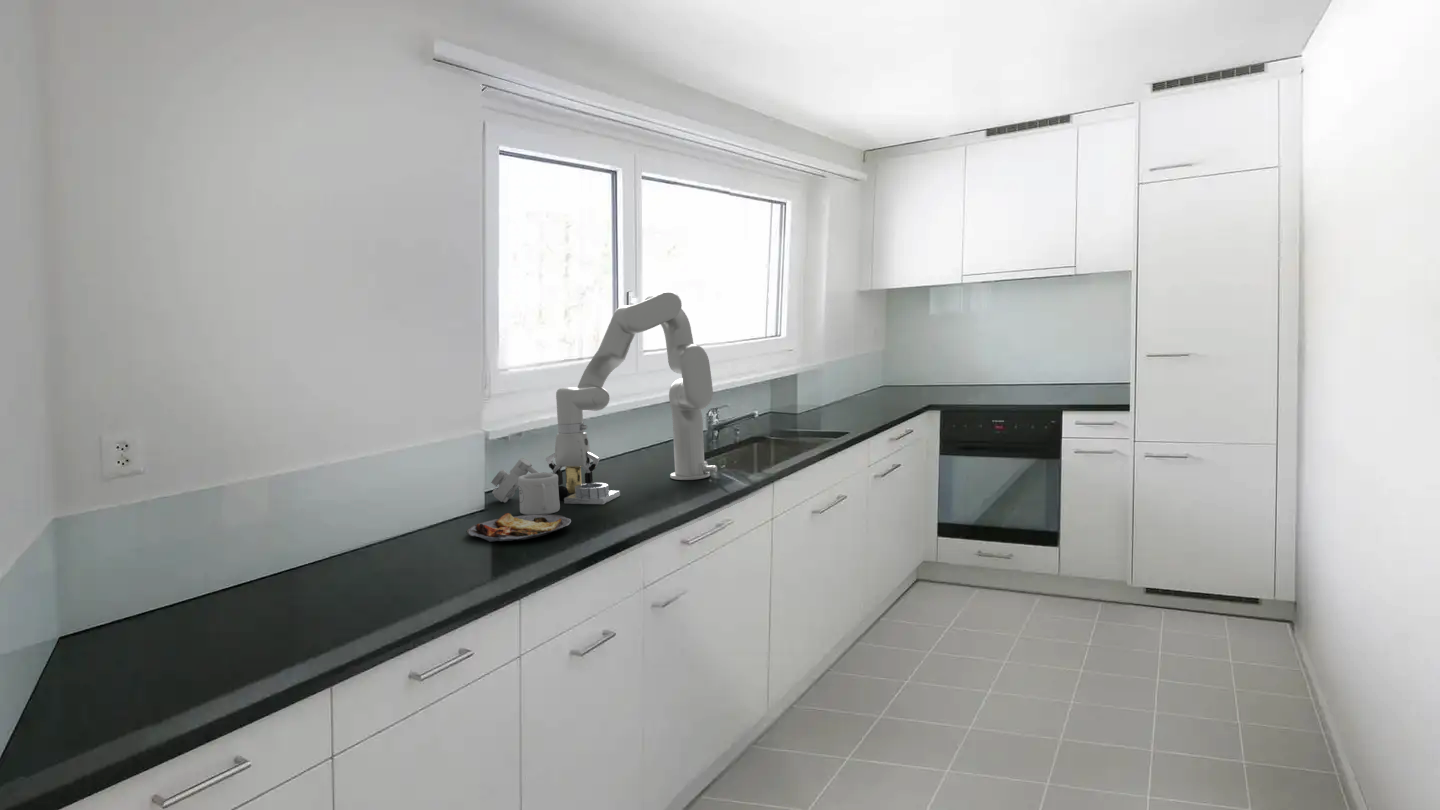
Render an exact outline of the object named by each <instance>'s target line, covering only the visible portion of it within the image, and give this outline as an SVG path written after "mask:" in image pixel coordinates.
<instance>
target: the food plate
mask: <svg viewBox="0 0 1440 810" xmlns="http://www.w3.org/2000/svg"><path fill="white" fill-rule="evenodd" d="M571 522H572V519H571V518H568V517H566V516H562V515H561V514H560V515H559V514H545V515H518V516H516V515H515V516H514V515H512V513H510V512H506V513H504V514H503V515H501V516H500V517H499V518H495V519H491V520H487V521H483V522H479V523H477V524H473V525H472V526H470V527H469V528H468V529H466V531H465V533H466V534H467V535H468V536H469V537H478V538H481V539H483V540H485V541H488V542H489V543H490V542H494V543H495V542H505V541H506V542H507V541H508V542H512V541H522V540H525V541H526V540H529V539H530V540H531V539H535V538H539V537H542V536H546V535H548V534H551V533H552V532H557V531H558V530H561V529H563V528H564V527H567V526H569V525H570V524H571Z"/></svg>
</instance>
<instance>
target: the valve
mask: <svg viewBox="0 0 1440 810" xmlns="http://www.w3.org/2000/svg"><path fill="white" fill-rule="evenodd" d="M532 466H533V465H532V463H531V462H530V461H529V460H528V459H526V458H523V457H521V458H519V459H518V461H517V462H516V463H515V465H514V466H513V467H512V468H511V469H510V471H509V472H507V471H506V470H505V469H504V468H503V469H500V470H499V471H498V473H497V474H496V475H495V476H494V477H493V479H492V480H491V482H490V484H492V485H494V486H495V487H497V486H498V487H497V488H494V489H493V490H492V492H491V494H492V495H493V498H495V499H497V500H498V501H499V502H500V503H504V504H506V503H507V502H508V501H509V499H510V498H512V497H513V496H514V495H515V494H516V493H515V492H516V491H517V490H519V484H518V478H519V477H520V476H522V475H526V474H532V473H539V472H538V471H537V470H536V469H535V468H533V467H532ZM558 490H559V501H564V498H566V497H568V496H569V493H568V490H567V488H566V486H565V485H559V486H558Z"/></svg>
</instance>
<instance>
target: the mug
mask: <svg viewBox="0 0 1440 810" xmlns="http://www.w3.org/2000/svg"><path fill="white" fill-rule="evenodd" d="M518 484H519V488H518V496H519V497H518V500H519V512H520V514H522V515H523V516H525V515H544V516H546V515H552V514H555V513H557V512H559V511H560V510H561V509H560V508H561V504H560V502H561V501H560V500H559V490H558V475H557V474H555V473H554V472H538V473H527V474H526V475H522V476H520V477H519V478H518Z"/></svg>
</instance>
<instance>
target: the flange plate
mask: <svg viewBox="0 0 1440 810" xmlns="http://www.w3.org/2000/svg"><path fill="white" fill-rule="evenodd" d="M620 496H621V490H610V486H609V484H608V483H606V482H592V483H585V482H584V483H582V484H580V485H577V486H575V493H571V494H570V495H568V496H567V497H566V498H564V500H563V501H564V502H563V503H564V504H570V505H571V504H572V505H573V504H576V505H577V504H578V505H579V504H580V505H605V504H607V503H609V502H610V501H612V500H614V499H617V498H618V497H620Z"/></svg>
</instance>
